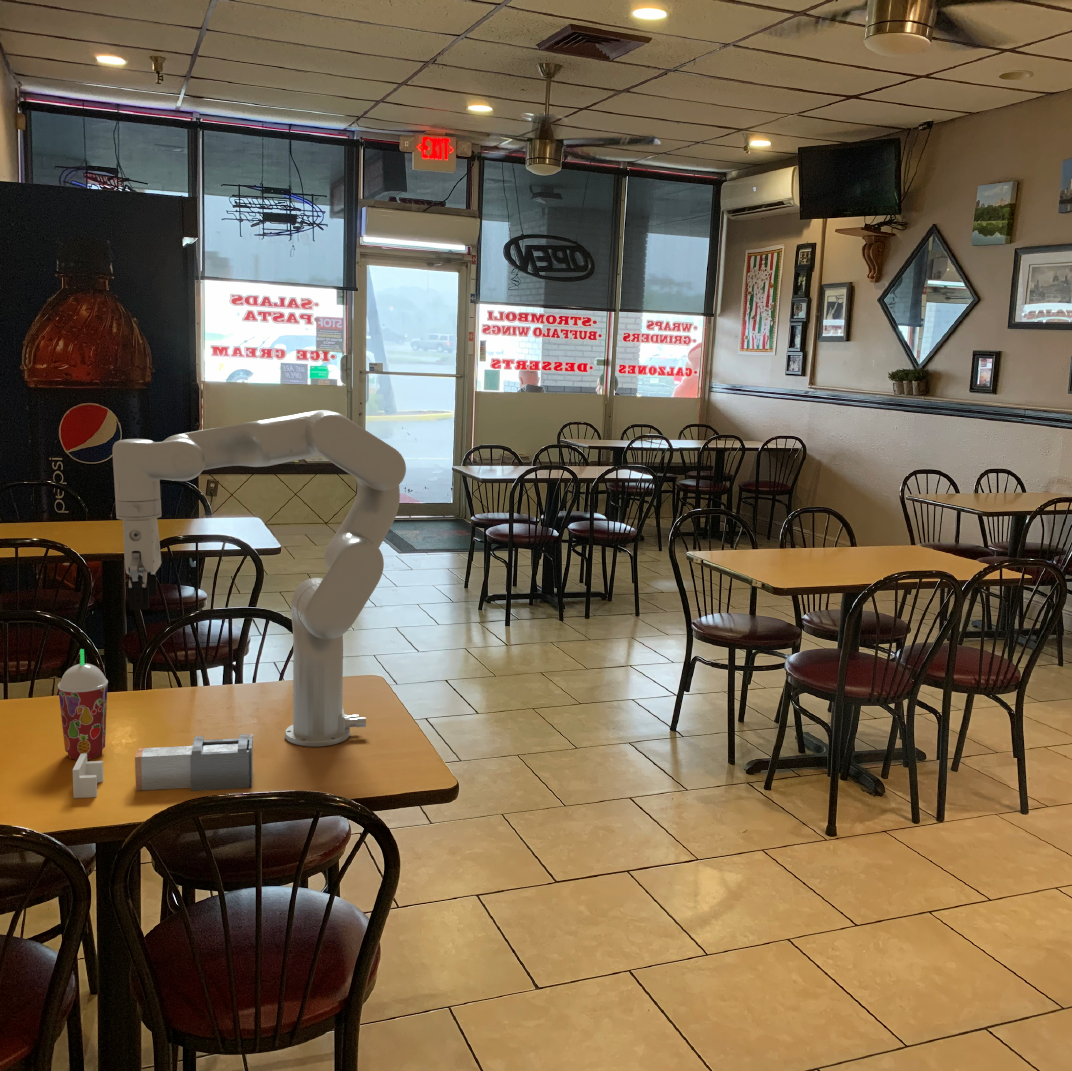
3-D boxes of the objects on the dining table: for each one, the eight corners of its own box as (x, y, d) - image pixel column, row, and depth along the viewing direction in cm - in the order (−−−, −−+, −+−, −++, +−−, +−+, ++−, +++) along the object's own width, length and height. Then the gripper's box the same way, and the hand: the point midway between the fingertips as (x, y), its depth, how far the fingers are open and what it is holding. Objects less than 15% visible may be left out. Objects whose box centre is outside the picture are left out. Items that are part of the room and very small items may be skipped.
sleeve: (252, 772, 183) (252, 733, 182) (251, 787, 177) (251, 747, 175) (194, 775, 181) (193, 736, 180) (190, 791, 174) (190, 750, 173)
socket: (103, 779, 177) (102, 752, 176) (96, 796, 170) (95, 768, 170) (81, 780, 176) (80, 753, 176) (73, 798, 170) (72, 769, 169)
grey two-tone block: (243, 775, 181) (243, 743, 180) (242, 784, 178) (242, 751, 177) (138, 781, 177) (138, 748, 176) (135, 790, 173) (134, 757, 172)
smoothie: (116, 746, 192) (114, 644, 189) (99, 763, 184) (96, 656, 181) (71, 745, 192) (68, 642, 189) (52, 762, 184) (48, 655, 180)
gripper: (153, 516, 174) (159, 613, 177) (167, 501, 191) (171, 591, 194) (106, 517, 172) (112, 615, 175) (124, 502, 189) (129, 592, 192)
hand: (143, 602), depth 184 cm, fingers open, 9 cm apart
